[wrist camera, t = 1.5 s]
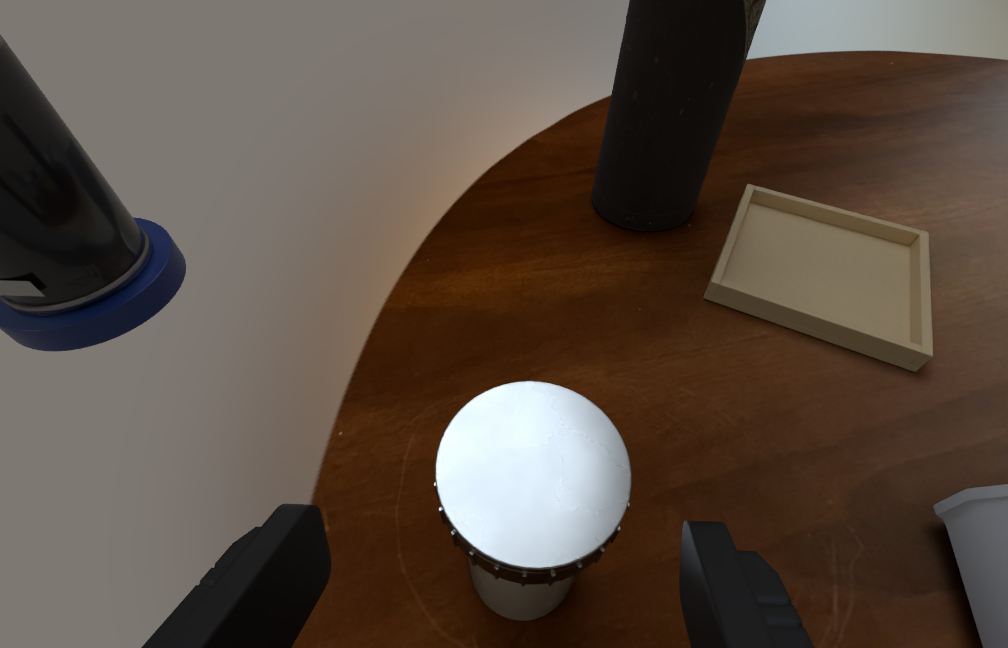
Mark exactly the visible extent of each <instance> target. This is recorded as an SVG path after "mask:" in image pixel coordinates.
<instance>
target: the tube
mask: <svg viewBox="0 0 1008 648" xmlns="http://www.w3.org/2000/svg"><path fill="white" fill-rule="evenodd" d="M933 507H934V510H935V513H936V516H937V517H939V518H940V519H941V520H942V521H943V522H944V523H945V525H946V528H947V531H948V534H949V538H950V541H951V544H952V547H953V551H954V554H955V557H956V560H957V564H958V567H959V570H960V574H961V577H962V580H963V583H964V587H965V590H966V593H967V596H968V600H969V603H970V606H971V610H972V613H973V616H974V619H975V623H976V626H977V629H978V632H979V636H980V639H981V642H982V646H983V648H1008V484H1006V485H997V486H988V487H979V488H970V489H965V490H963V491H961V492H959V493H957V494H955V495H953V496H951V497H949V498H947V499H945V500H943V501H941V502H939V503H937V504H935V505H934V506H933Z"/></svg>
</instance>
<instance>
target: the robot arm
mask: <svg viewBox="0 0 1008 648" xmlns="http://www.w3.org/2000/svg"><path fill="white" fill-rule="evenodd" d="M152 253H153V246H152V242H151V240H150V238H149V237H148V236H147V234H146V233H145V231H144V230H143V229H142V228H141V227H140V226H139V225H138V224H137V223H136V221H135V220H134V219H133V217H132V216H131V214H130V213H129V212H128V210H127V209H126V208H125V206H124V205H123V203H122V202H121V201H120V199H119V198H118V196H117V195H116V193H115V192H114V190H113V189H112V188H111V186H110V185H109V184H108V182H107V181H106V180H105V178H104V177H103V176H102V174H101V173H100V171H99V170H98V168H97V167H96V166H95V164H94V163H93V162H92V160H91V159H90V157H89V156H88V155H87V153H86V152H85V151H84V149H83V148H82V146H81V145H80V144H79V142H78V141H77V140H76V138H75V137H74V136H73V134H72V133H71V131H70V130H69V128H68V127H67V126H66V124H65V123H64V122H63V120H62V119H61V117H60V116H59V115H58V113H57V112H56V111H55V109H54V108H53V106H52V105H51V104H50V102H49V101H48V100H47V98H46V97H45V95H44V94H43V93H42V91H41V90H40V89H39V87H38V86H37V84H36V83H35V82H34V80H33V79H32V78H31V76H30V75H29V73H28V72H27V71H26V69H25V68H24V66H23V65H22V64H21V62H20V61H19V60H18V58H17V57H16V56H15V54H14V53H13V51H12V50H11V49H10V48H9V46H8V44H7V43H6V42H5V40H4V39H3V37H2V36H1V35H0V299H1V300H2V301H3V302H4V303H5V304H7V305H8V306H9V307H10V308H12V309H13V310H15V311H17V312H19V313H22V314H26V315H33V316H50V315H58V314H64V313H69V312H73V311H76V310H80V309H83V308H86V307H89V306H91V305H94V304H96V303H99V302H101V301H103V300H105V299H107V298H109V297H111V296H112V295H114V294H116V293H118V292H119V291H121V290H122V289H124V288H125V287H126V286H128V285H129V284H130V283H132V282H133V281H134V280H135V279H136V278H137V277H138V276H139V275H140V274H141V273H142V272H143V271H144V269H145V268H146V267H147V265H148V263H149V261H150V259H151V257H152ZM330 571H331V555H330V551H329V546H328V542H327V538H326V533H325V529H324V525H323V520H322V516H321V512H320V510H319V508H318V507H317V506H316V505H303V504H282V505H280V506H279V507H278V508H277V509H276V510H275V511H274V512H273V514H272V515H271V516H270V517H269V518H268V519H267V521H266V522H265V523H264V524H263V525H262V526H261V527H255V528H254V529H252V530H251V531H250V532H248V533H247V534H245V535H244V536H243V537H241V538H240V539H239V540H237V541H236V542H234V543H233V544H232V545H231V546H230V547H229V548H228V550H227V551H226V552H225V553H224V554H223V555H222V556H221V558H220V559H219V560H218V561H217V562H216V564H215V567H214V568H211V569H210V570H209V571H208V573H206V575H205V576H204V577H203V578H202V579H201V580H200V584H199V585H196V586H195V587H194V588H193V590H192V591H191V592H190V593H189V594H188V595H187V596H186V597H185V599H184V600H183V601H182V602H181V603H180V604H179V605H178V607H177V608H176V609H175V610H174V611H173V612H172V613H171V615H170V616H169V617H168V618H167V619H166V620H165V621H164V623H163V624H162V625H161V626H160V627H159V628H158V629H157V631H156V632H155V633H154V634H153V635H152V636H151V637H150V639H149V640H148V641H147V642H146V643H145V644H144V645H143V647H142V648H291V647H292V645H293V643H294V642H295V640H296V638H297V636H298V635H299V633H300V631H301V629H302V628H303V626H304V624H305V622H306V621H307V619H308V617H309V615H310V614H311V612H312V610H313V608H314V607H315V605H316V603H317V601H318V600H319V598H320V596H321V594H322V593H323V591H324V589H325V587H326V585H327V583H328V580H329V576H330ZM679 585H680V598H681V605H682V611H683V615H684V619H685V624H686V628H687V632H688V636H689V640H690V644H691V648H814V646H813V644H812V642H811V640H810V638H809V636H808V633H807V631H806V629H805V628H803V626H802V621H801V619H800V617H799V615H798V613H797V611H796V609H795V607H794V606H793V605H792V604H791V599H790V597H789V595H788V593H787V591H786V589H785V587H784V585H783V583H782V581H781V579H780V577H779V575H778V573H777V572H776V571H775V570H774V569H773V568H772V567H771V566H770V565H769V564H768V563H767V562H766V561H765V560H764V559H763V558H762V557H761V556H760V555H759V554H758V553H757V552H755V551H737V550H736V548H735V546H734V543H733V541H732V538H731V536H730V534H729V531H728V529H727V527H726V525H725V524H724V523H723V522H710V521H684V523H683V530H682V546H681V561H680V577H679Z"/></svg>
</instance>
